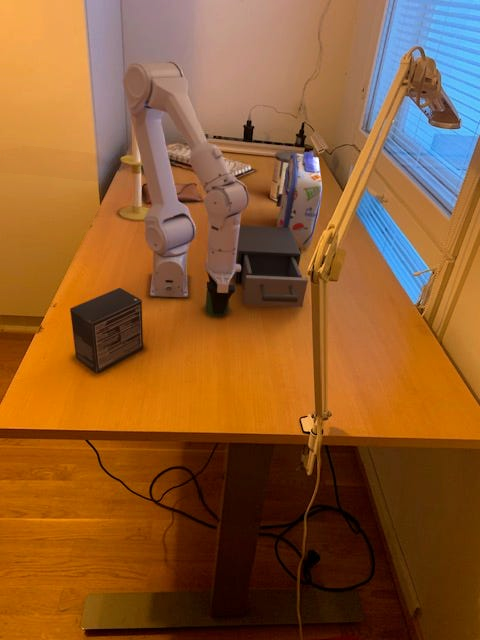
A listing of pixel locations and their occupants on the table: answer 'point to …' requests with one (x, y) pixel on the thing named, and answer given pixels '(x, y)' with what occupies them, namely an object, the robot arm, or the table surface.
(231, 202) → the robot arm
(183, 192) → the sunglasses case
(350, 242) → the table surface
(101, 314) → the small box
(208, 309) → the jar
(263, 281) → the dish drawer
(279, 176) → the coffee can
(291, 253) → the drawer cabinet
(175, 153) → the mechanical keyboard
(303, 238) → the lunch box
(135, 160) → the candle
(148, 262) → the table surface
